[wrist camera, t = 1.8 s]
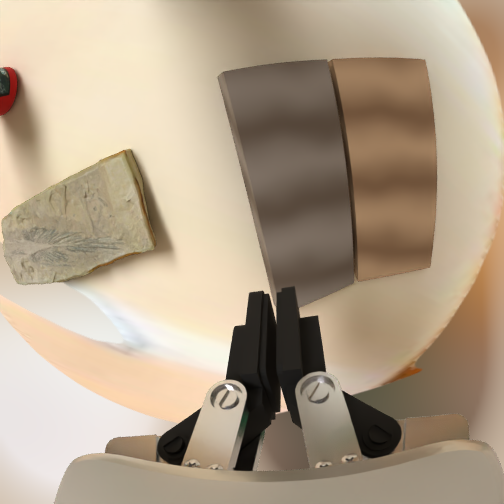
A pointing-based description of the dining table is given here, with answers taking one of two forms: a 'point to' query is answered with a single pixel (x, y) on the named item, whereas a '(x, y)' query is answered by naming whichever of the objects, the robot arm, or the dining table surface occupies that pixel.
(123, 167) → the stone slab
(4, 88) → the beverage can
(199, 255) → the dining table surface
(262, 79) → the smoked oak plank
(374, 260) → the walnut board
